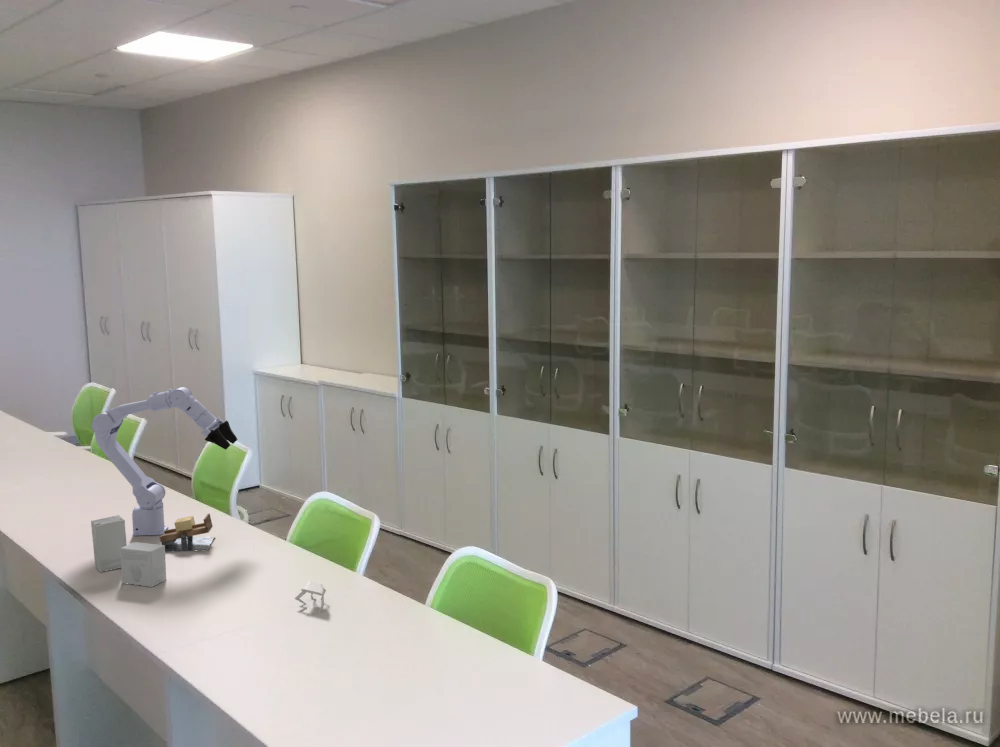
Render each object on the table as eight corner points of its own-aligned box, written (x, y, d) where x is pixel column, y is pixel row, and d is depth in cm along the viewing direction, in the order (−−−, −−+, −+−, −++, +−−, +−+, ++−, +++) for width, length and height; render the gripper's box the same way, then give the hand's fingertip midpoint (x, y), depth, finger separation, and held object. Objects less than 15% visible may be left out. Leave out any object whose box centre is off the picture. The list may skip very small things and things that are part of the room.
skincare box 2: (167, 579, 242) (165, 544, 240) (152, 587, 236) (150, 551, 234) (136, 575, 244) (134, 540, 243) (121, 583, 238) (119, 548, 237)
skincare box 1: (123, 561, 255) (120, 514, 253) (129, 567, 251) (126, 519, 249) (93, 567, 250) (90, 519, 248) (98, 573, 245) (95, 524, 243)
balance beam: (161, 546, 266) (157, 528, 265) (167, 540, 272) (162, 522, 271) (209, 537, 267) (205, 519, 267) (213, 530, 273) (209, 513, 272)
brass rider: (177, 534, 267) (174, 522, 267) (180, 530, 271) (177, 519, 270) (193, 531, 268) (190, 519, 267) (196, 527, 272) (193, 515, 271)
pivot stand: (157, 552, 263) (156, 537, 263) (168, 539, 275) (167, 525, 274) (207, 550, 265) (206, 535, 264) (215, 537, 277) (214, 523, 276)
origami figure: (288, 604, 225) (288, 586, 225) (314, 595, 231) (314, 578, 231) (314, 617, 217) (313, 599, 216) (340, 607, 223) (340, 590, 223)
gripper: (201, 412, 269) (233, 441, 271) (216, 403, 284) (246, 431, 285) (187, 427, 270) (218, 456, 272) (202, 417, 284) (232, 445, 286)
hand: (231, 444), depth 279 cm, fingers open, 7 cm apart
